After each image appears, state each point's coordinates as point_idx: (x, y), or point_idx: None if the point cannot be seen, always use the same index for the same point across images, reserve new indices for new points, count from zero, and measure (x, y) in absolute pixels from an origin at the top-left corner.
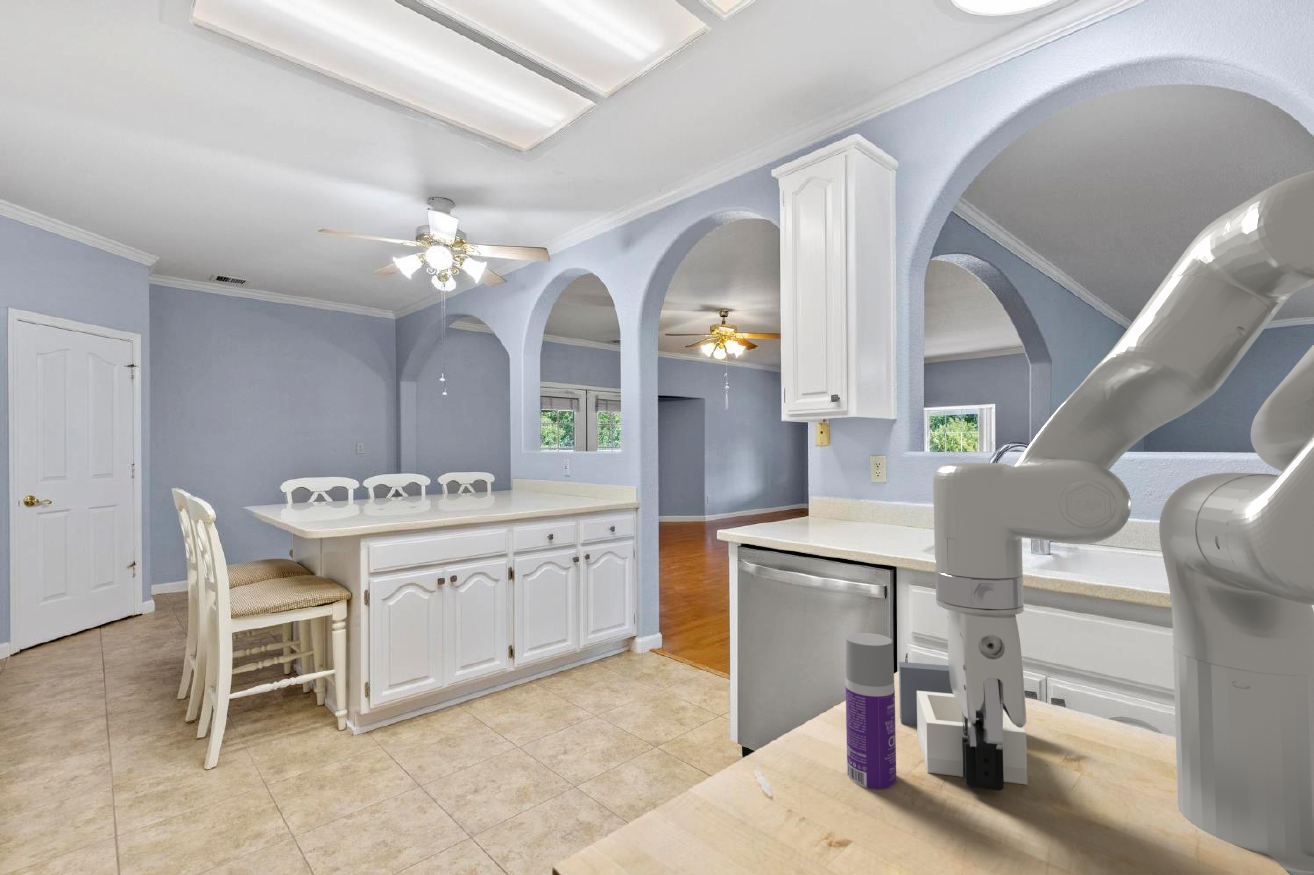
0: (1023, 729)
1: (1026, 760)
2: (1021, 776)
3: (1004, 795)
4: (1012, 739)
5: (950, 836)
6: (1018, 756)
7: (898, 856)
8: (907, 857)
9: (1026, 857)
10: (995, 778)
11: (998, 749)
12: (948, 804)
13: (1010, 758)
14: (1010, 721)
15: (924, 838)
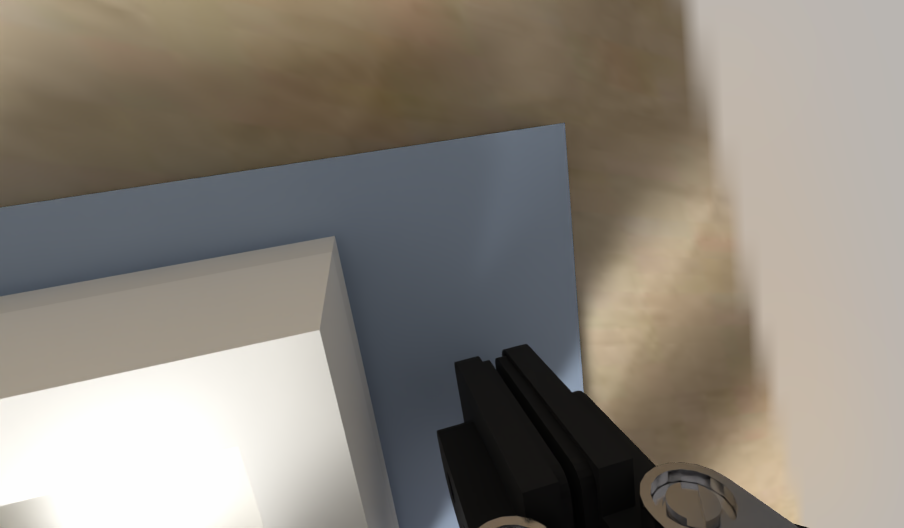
0: (239, 351)
1: (331, 265)
2: (339, 268)
3: None
4: (345, 396)
5: (668, 431)
6: (340, 313)
7: None
8: (770, 494)
9: (711, 251)
10: (588, 397)
11: (696, 482)
12: None
13: (349, 347)
14: (58, 469)
15: None
